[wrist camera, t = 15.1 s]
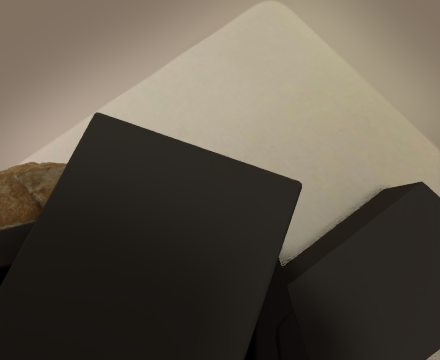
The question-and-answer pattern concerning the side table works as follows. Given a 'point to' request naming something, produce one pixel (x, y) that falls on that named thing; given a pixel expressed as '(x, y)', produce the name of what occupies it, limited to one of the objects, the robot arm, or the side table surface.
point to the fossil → (26, 191)
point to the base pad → (373, 281)
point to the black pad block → (146, 253)
